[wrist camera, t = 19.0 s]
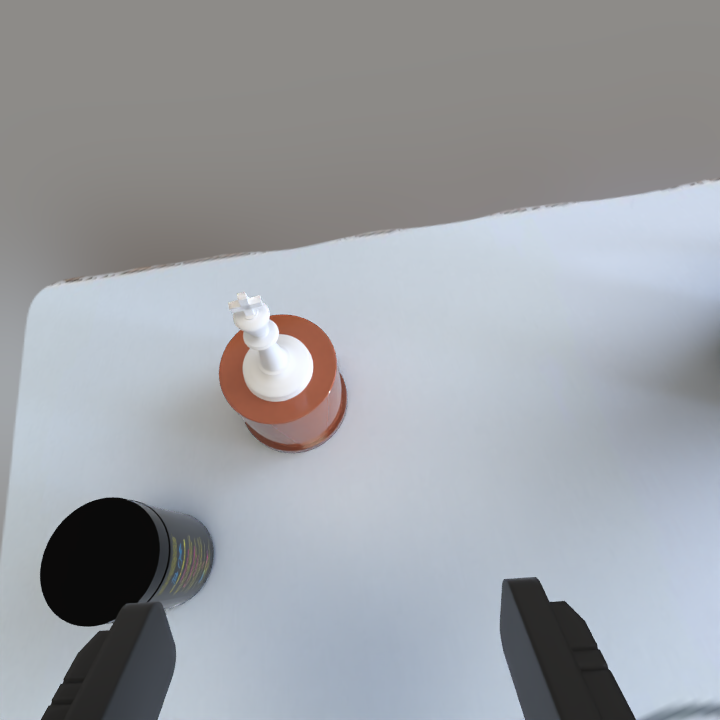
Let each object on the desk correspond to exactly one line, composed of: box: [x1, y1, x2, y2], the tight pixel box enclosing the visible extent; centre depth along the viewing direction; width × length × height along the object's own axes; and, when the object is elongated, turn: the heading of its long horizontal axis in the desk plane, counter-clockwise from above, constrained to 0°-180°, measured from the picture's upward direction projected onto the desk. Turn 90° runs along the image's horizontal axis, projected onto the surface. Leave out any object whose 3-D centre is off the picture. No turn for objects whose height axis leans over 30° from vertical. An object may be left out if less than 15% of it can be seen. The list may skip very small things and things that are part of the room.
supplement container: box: [40, 497, 214, 627], centre depth 31 cm, size 7×7×10 cm
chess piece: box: [228, 292, 313, 402], centre depth 29 cm, size 5×5×10 cm
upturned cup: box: [219, 315, 347, 453], centre depth 37 cm, size 9×9×8 cm
